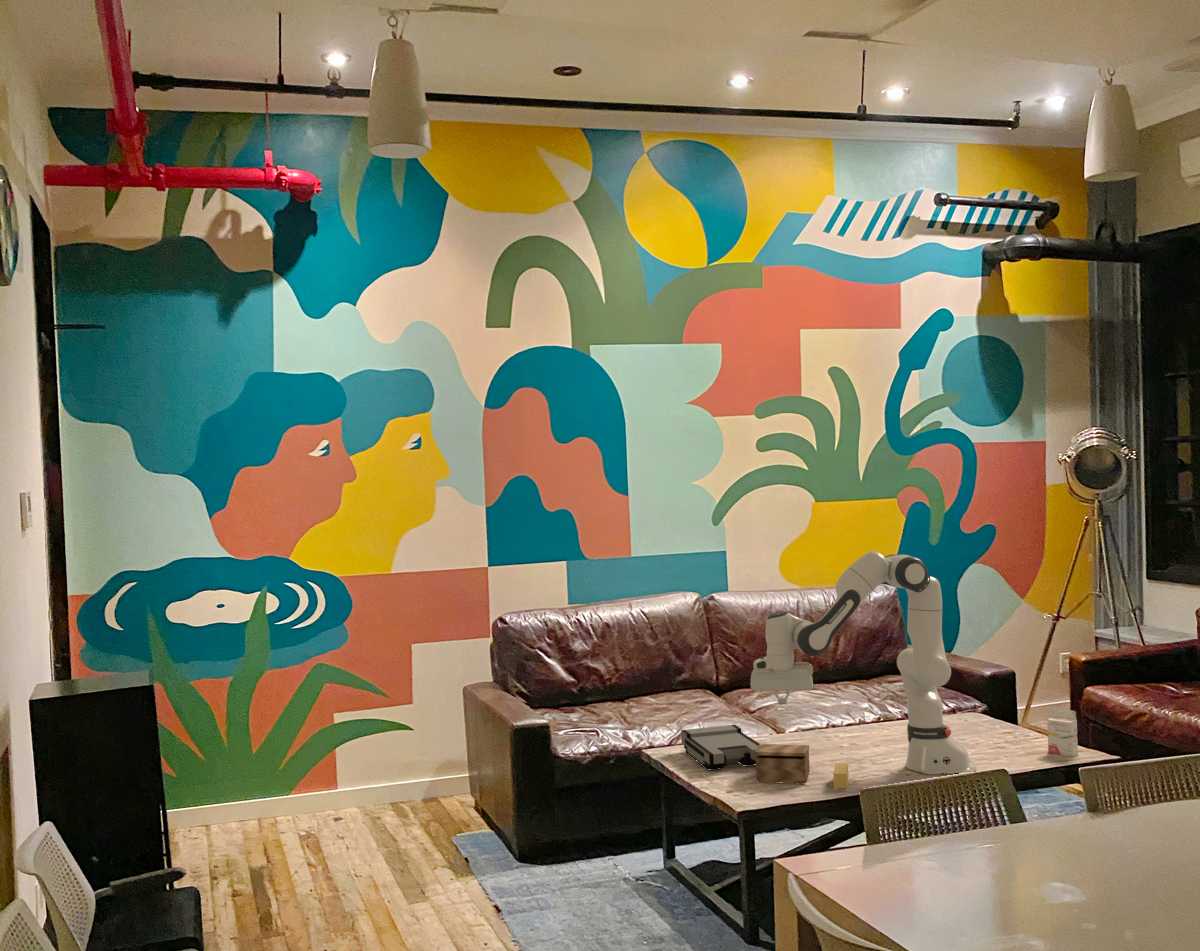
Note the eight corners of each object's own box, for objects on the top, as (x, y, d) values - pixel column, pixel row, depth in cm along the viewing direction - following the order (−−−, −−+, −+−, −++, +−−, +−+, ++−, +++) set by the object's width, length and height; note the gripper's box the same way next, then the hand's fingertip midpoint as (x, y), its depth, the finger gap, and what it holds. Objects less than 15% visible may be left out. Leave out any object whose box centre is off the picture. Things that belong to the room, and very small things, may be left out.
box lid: (809, 748, 370) (809, 745, 370) (805, 756, 356) (805, 753, 356) (760, 747, 375) (760, 744, 375) (754, 755, 361) (754, 751, 361)
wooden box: (809, 772, 370) (808, 748, 370) (806, 784, 357) (805, 759, 357) (761, 770, 375) (760, 747, 375) (756, 782, 361) (755, 758, 361)
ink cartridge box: (1047, 753, 380) (1045, 710, 380) (1053, 750, 384) (1051, 707, 384) (1073, 756, 375) (1071, 713, 374) (1078, 753, 378) (1076, 710, 378)
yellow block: (848, 779, 361) (848, 763, 361) (846, 789, 350) (846, 773, 350) (836, 778, 362) (835, 763, 362) (834, 789, 351) (833, 773, 351)
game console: (710, 775, 373) (709, 751, 373) (681, 752, 404) (680, 730, 404) (768, 768, 378) (767, 744, 378) (735, 746, 409) (734, 724, 409)
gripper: (813, 660, 364) (815, 702, 364) (751, 660, 369) (753, 701, 369) (811, 663, 357) (814, 706, 358) (748, 663, 363) (750, 705, 363)
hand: (782, 703), depth 363 cm, fingers closed
